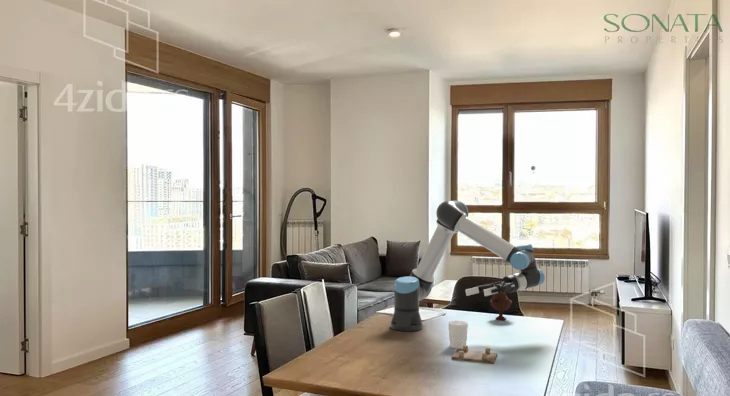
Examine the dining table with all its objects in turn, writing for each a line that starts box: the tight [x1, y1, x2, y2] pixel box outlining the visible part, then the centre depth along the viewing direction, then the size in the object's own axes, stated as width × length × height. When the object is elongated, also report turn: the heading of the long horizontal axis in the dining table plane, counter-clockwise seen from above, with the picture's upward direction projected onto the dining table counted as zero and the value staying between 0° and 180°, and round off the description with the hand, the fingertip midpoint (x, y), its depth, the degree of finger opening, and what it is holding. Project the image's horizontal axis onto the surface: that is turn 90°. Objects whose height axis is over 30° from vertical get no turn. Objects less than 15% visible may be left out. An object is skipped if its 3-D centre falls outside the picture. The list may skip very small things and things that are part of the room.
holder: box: [451, 344, 498, 365], centre depth 226 cm, size 16×12×3 cm
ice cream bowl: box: [489, 292, 513, 322], centre depth 292 cm, size 11×11×15 cm
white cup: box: [448, 320, 469, 350], centre depth 241 cm, size 8×8×10 cm
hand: (474, 292), depth 249 cm, fingers open, 13 cm apart
